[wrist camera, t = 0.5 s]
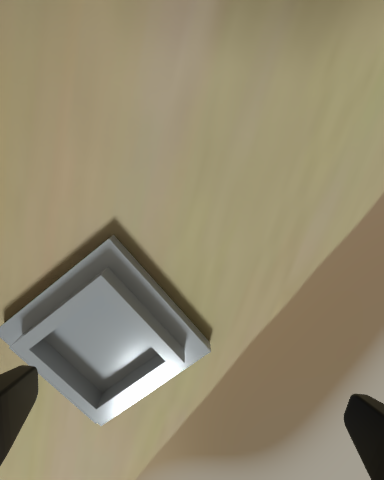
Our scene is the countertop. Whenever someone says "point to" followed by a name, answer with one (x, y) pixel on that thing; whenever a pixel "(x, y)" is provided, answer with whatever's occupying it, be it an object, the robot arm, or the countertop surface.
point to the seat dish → (105, 333)
